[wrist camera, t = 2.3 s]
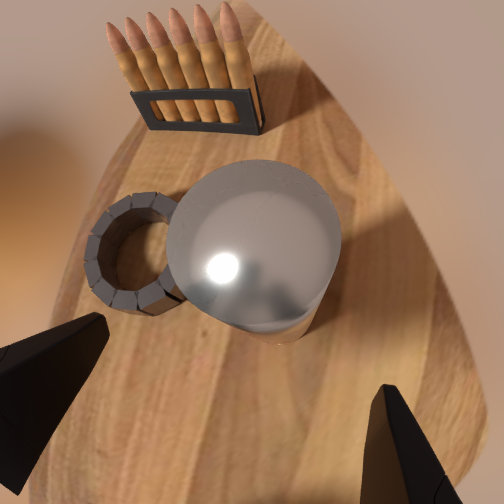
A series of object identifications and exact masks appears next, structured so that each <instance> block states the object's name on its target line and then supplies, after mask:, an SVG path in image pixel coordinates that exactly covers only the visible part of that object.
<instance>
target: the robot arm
mask: <svg viewBox="0 0 504 504" xmlns="http://www.w3.org/2000/svg"><path fill="white" fill-rule="evenodd" d="M109 336H110V333H109V329H108V325H107V321H106V318H105V316H104V315H102V314H99V313H97V312H93V313H90V314H87V315H85V316H82V317H80V318H77V319H75V320H72V321H69V322H67V323H64V324H62V325H59V326H57V327H54V328H51V329H49V330H46V331H44V332H41V333H39V334H36V335H34V336H31V337H28V338H26V339H23V340H21V341H18V342H15V343H13V344H11V345H8V346H5V347H2V348H0V483H1V484H2V485H3V486H5V487H6V488H8V489H9V490H10V491H12V492H13V493H15V494H16V495H17V496H18V495H19V494H20V492H21V491H22V489H23V487H24V485H25V483H26V481H27V479H28V477H29V476H30V474H31V472H32V470H33V468H34V466H35V465H36V463H37V461H38V459H39V458H40V455H41V454H42V452H43V450H44V449H45V447H46V445H47V443H48V442H49V440H50V438H51V436H52V435H53V433H54V431H55V430H56V428H57V426H58V425H59V423H60V421H61V420H62V418H63V417H64V415H65V413H66V412H67V410H68V408H69V407H70V405H71V404H72V402H73V400H74V399H75V397H76V396H77V394H78V393H79V391H80V389H81V388H82V386H83V385H84V383H85V382H86V380H87V379H88V377H89V375H90V374H91V372H92V370H93V368H94V367H95V365H96V363H97V361H98V359H99V357H100V355H101V353H102V351H103V349H104V347H105V345H106V344H107V342H108V340H109ZM360 504H463V503H462V501H461V500H460V498H459V497H458V495H457V493H456V491H455V490H454V488H453V486H452V484H451V482H450V480H449V479H448V477H447V475H445V471H444V469H443V467H442V466H441V464H440V462H439V460H438V458H437V456H436V455H435V453H434V451H433V449H432V447H431V446H430V444H429V442H428V440H427V438H426V437H425V435H424V433H423V431H422V430H421V428H420V426H419V424H418V423H417V421H416V419H415V417H414V416H413V414H412V412H411V411H410V409H409V407H408V405H407V404H406V402H405V400H404V399H403V397H402V395H401V394H400V392H399V390H398V389H397V387H396V386H395V385H388V384H383V385H381V387H380V388H379V390H378V392H377V394H376V396H375V397H374V399H373V401H372V404H371V409H370V416H369V423H368V430H367V436H366V442H365V448H364V458H363V473H362V485H361V496H360Z"/></svg>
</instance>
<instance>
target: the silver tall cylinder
mask: <svg viewBox="0 0 504 504" xmlns="http://www.w3.org/2000/svg"><path fill="white" fill-rule="evenodd" d="M166 250H167V259H168V265H169V268H170V271H171V274H172V276H173V278H174V280H175V282H176V284H177V286H178V287H179V289H180V290H181V292H182V293H183V294H184V296H185V297H186V298H187V299H188V300H189V301H190V302H191V303H192V304H194V305H195V306H196V307H197V308H199V309H200V310H202V311H203V312H205V313H207V314H208V315H210V316H212V317H214V318H216V319H218V320H220V321H222V322H224V323H226V324H228V325H230V326H232V327H234V328H236V329H238V330H240V331H242V332H244V333H246V334H248V335H250V336H252V337H254V338H256V339H258V340H261V341H263V342H265V343H268V344H272V345H284V344H288V343H291V342H293V341H295V340H297V339H299V338H300V337H301V336H302V335H303V334H304V333H305V332H306V331H307V329H308V328H309V326H310V324H311V322H312V320H313V318H314V316H315V313H316V311H317V309H318V307H319V305H320V302H321V300H322V298H323V296H324V294H325V291H326V289H327V287H328V284H329V282H330V280H331V278H332V275H333V273H334V271H335V268H336V265H337V262H338V259H339V256H340V250H341V226H340V221H339V217H338V214H337V211H336V209H335V206H334V204H333V202H332V200H331V199H330V197H329V195H328V194H327V193H326V191H325V190H324V189H323V188H322V187H321V185H320V184H318V183H317V182H316V181H315V180H314V179H313V178H312V177H310V176H309V175H307V174H306V173H305V172H303V171H301V170H299V169H297V168H295V167H293V166H290V165H287V164H284V163H281V162H277V161H270V160H246V161H240V162H235V163H232V164H229V165H226V166H223V167H221V168H219V169H216V170H214V171H213V172H211V173H209V174H208V175H206V176H205V177H203V178H202V179H200V180H199V181H198V182H197V183H196V184H195V185H193V186H192V187H191V188H190V189H189V191H188V192H187V193H186V194H185V195H184V196H183V198H182V199H181V201H180V202H179V204H178V205H177V207H176V209H175V211H174V213H173V216H172V218H171V221H170V224H169V228H168V233H167V242H166Z"/></svg>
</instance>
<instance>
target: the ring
mask: <svg viewBox="0 0 504 504" xmlns="http://www.w3.org/2000/svg"><path fill="white" fill-rule="evenodd" d="M178 204H179V203H178V202H176V201H174V200H172V199H170V198H169V197H167V196H165V195H163V194H161V193H160V192H159V193H158V194H157V192H145V193H133V195H132V197H131V196H130V195H128V196H126V197H125V198H123V199H121V200H120V201H118V202H117V203H115V204H113V205H112V206H110V207H109V208H108V209H109V213H108V212H107V211H106V210H105V212H104V213H103V214H102V216H101V217H100V219H99V220H98V222H97V223H96V224H95V226H94V227H93V229H92V230H91V232H92V233H93V234H94V235H89V237H88V242H87V246H86V251H85V256H84V261H86V263H84V267H85V271H86V275H87V279H88V283H89V287H90V288H92V290H91V291H92V292H93V293H94V294H96V295H97V296H98V297H99V298H100V299H101V300H102V301H103V302H104V303H105V304H106V305H107V306H108V307H111V308H113V309H116V310H119V311H122V312H125V313H128V314H134V315H144V316H154V315H159V314H161V313H163V312H165V311H167V310H169V309H171V308H173V307H175V306H177V305H179V304H180V301H179V299H181V300H183V301H184V299H185V298H186V297H185V296H184V294H183V293H182V292H181V290H180V289H179V287H178V286H177V284H176V282H175V280H174V278H173V276H172V274H171V271H170V268H169V265H168V264H167V266H166V267H165V269H164V270H163V272H162V273H161V275H160V276H159V278H158V279H157V280H156V281H154V282H152V283H151V284H149V285H147V286H145V287H143V288H142V289H140V290H138V291H125V290H124V289H123V288H122V287H121V286H120V284H119V281H118V278H117V274H116V271H115V264H116V258H117V253H118V248H119V247H120V246H121V244H122V243H123V241H124V240H125V238H126V237H127V235H128V234H129V233H130V232H131V231H133V230H135V229H136V228H138V227H140V226H142V225H143V224H145V223H156V222H165V223H166V224H168V225H169V224H170V221H171V218H172V216H173V213H174V211H175V209H176V207H177V205H178ZM178 298H179V299H178Z"/></svg>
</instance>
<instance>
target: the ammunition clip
mask: <svg viewBox="0 0 504 504" xmlns="http://www.w3.org/2000/svg"><path fill="white" fill-rule="evenodd" d="M146 22H147V29H148V33H149V37H150V40H151V42H152V44H153V48H154V51H155V53H156V54H155V53H154V51H153V50H152V48H151V46H150V44H149V43H148V41H147V39H146V37H145V35H144V34H143V32H142V30H141V29H140V27H139V26H138V25H137V24H136V23H135V22H134V21H133V20H132V19H131V18H129V17H127V18H126V19H125V27H126V33H127V36H128V39H129V42H130V44H131V47H132V49H133V52H134V53H133V52H132V50H131V48H130V46H129V45H128V44H127V42H126V40H125V38H124V37H123V35H122V34H121V33H120V31H119V30H118V29H117V28H116V27H115V26H114V25H113V24H111V23H109V22H108V23H106V32H107V37H108V40H109V43H110V45H111V48H112V49H113V51H114V53H115V56H116V58H117V60H118V63H119V67H120V69H121V71H122V73H123V75H124V77H125V78H126V80H127V82H128V84H129V85H130V87H131V89H132V91H131V92H130V95H131V96H132V98H133V100H134V102H135V104H136V106H137V108H138V109H139V111H140V113H141V115H142V117H143V118H144V120H145V122H146V124H147V126H148V128H149V129H150V130H174V131H202V132H219V133H234V134H246V135H257V136H259V135H260V134H261V133H262V130H263V126H264V123H265V115H264V111H263V107H262V103H261V98H260V94H259V90H258V86H257V82H256V78H255V75H253V71H252V66H251V61H250V56H249V53H248V50H247V48H246V46H245V43H244V39H243V36H242V33H241V29H240V25H239V23H238V20H237V17H236V15H235V13H234V12H233V10H232V8H231V7H230V5H229V4H228V3H227V2H223V3H222V6H221V10H220V24H221V31H222V36H223V42H224V47H225V55H224V52H223V50H222V49H221V47H220V45H219V42H218V39H217V36H216V34H215V31H214V28H213V25H212V23H211V21H210V19H209V17H208V15H207V13H206V12H205V10H204V9H203V8H201V6H200V5H198V4H197V5H195V8H194V26H195V31H196V35H197V38H198V43H199V47H200V52H199V50H198V49H197V47H196V46H195V43H194V41H193V38H192V37H191V34H190V32H189V29H188V27H187V25H186V23H185V21H184V19H183V18H182V17H181V15H180V14H179V13H178V12H177V11H176V10H175V9H174V8H171V9H170V12H169V23H170V29H171V33H172V37H173V39H174V42H175V46H176V49H177V52H176V50H175V49H174V48H173V46H172V44H171V41H170V40H169V38H168V36H167V33H166V31H165V29H164V27H163V26H162V24H161V23H160V21H159V20H158V19H157V18H156V17H155V16H154V15H153V14H152V13H150V12H148V13H147V17H146Z"/></svg>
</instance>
